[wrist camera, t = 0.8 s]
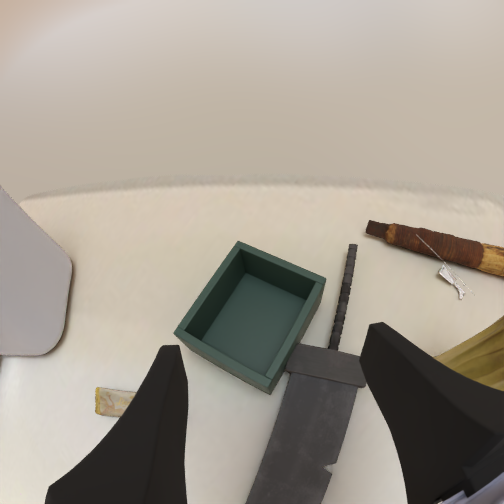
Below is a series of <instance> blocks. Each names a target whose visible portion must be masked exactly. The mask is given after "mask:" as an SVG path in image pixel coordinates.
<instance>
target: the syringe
mask: <svg viewBox="0 0 504 504" xmlns="http://www.w3.org/2000/svg"><path fill="white" fill-rule="evenodd" d="M421 240H422V239H421ZM422 241H423V240H422ZM423 242H424V241H423ZM424 243H425V242H424ZM425 244H426V243H425ZM426 245H427V244H426ZM427 246H428V245H427ZM428 247H429V246H428ZM429 248H430V247H429ZM430 249H431V248H430ZM431 250H432V249H431ZM432 251H433V250H432ZM433 252H434V251H433ZM434 253H435V252H434ZM435 254H436V253H435ZM436 255H437V254H436ZM437 256H438V255H437ZM438 257H439V256H438ZM439 258H440V257H439ZM440 259H441V258H440ZM441 260H442V259H441ZM442 261H443V260H442ZM443 262H444V261H443ZM444 263H445V262H444ZM445 264H446V263H445ZM446 265H447V264H446ZM447 266H448V265H447ZM448 267H449V266H448ZM449 268H450V267H449ZM450 269H451V268H450ZM451 270H452V269H451ZM439 274H441V275H442V276H443V277H444V278H445V279H446V280H448V281H449V282H450V283H451V284H452V285H453V282H454V281H455V280H456V279H455V278H454V276H453V275H452V274H451V273H450V272H449V271H448V270H447V268H446V267H445V266H444V265H443V266H442V268H441V270H439ZM460 280H461V279H460ZM461 281H462V280H461ZM462 282H463V281H462ZM463 283H464V282H463ZM454 284H455V286H456V287H457V289H458V291H459V298H460V299H461V300H462V299H463V295H465V292H464V291H463V290H462V289H461V288H460V287H459V286H458V284H457V283H455V282H454ZM464 284H465V283H464ZM465 285H466V284H465ZM470 291H471V290H470ZM471 292H472V291H471ZM472 293H473V292H472ZM473 294H474V293H473Z"/></svg>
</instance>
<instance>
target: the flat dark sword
mask: <svg viewBox="0 0 504 504" xmlns="http://www.w3.org/2000/svg"><path fill="white" fill-rule="evenodd" d="M357 246H358V245H356V244H349V249H348V255H347V261H346V266H345V267H346V268H345V272H344V277H343V282H342V285H343V286H342V287H341V292H340V294H341V295H340V297H339V302H338V303H339V305H338V307H337V311H336V313H337V315H335V320H334V323H335V324H334V326H333V330H332V335H331V338H330V342H329V343H330V345H329V347H328V349H326V348H320V347H315V346H310V345H305V344H299V343H297V345H296V347H295V349H294V351H293V353H292V354H291V356H290V358H289V360H288V362H287V365H286V368H285V371H287V372H290V373H291V376H290V379H289V382H288V386H287V389H286V392H285V395H284V398H283V401H282V405H281V408H280V411H279V414H278V417H277V420H276V423H275V426H274V429H273V432H272V435H271V437H270V440H269V443H268V446H267V449H266V452H265V454H264V457H263V460H262V463H261V465H260V468H259V471H258V473H257V476H256V478H255V481H254V484H253V486H252V489H251V491H250V494H249V496H248V499H247V501H246V504H321V502H322V500H323V497H324V494H325V492H326V489H327V487H328V484H329V481H330V479H331V476H332V474H331V473H330V472H328V471H327V470H326V469H324V468H323V467H322V466H327V465H331V464H335V463H336V462H337V459H338V456H339V453H340V449H341V446H342V443H343V440H344V437H345V433H346V430H347V427H348V423H349V420H350V416H351V412H352V409H353V405H354V401H355V397H356V393H357V389H358V388H364V387H365V386H366V379H365V377H364V374H363V371H362V368H361V365H360V362H359V359H360V356H356V355H352V354H348V353H344V352H340V351H338V345H339V343H340V338H341V337H340V335H341V334H342V330H343V324H344V320H345V314H346V310H347V305H348V300H349V297H348V296H349V295H350V290H351V288H350V286H351V284H352V277H353V272H354V266H355V259H356V252H357Z"/></svg>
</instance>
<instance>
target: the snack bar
mask: <svg viewBox="0 0 504 504" xmlns="http://www.w3.org/2000/svg"><path fill="white" fill-rule="evenodd" d="M95 392H96V394H95V395H96V396H95V399H96V401H95V402H96V407H95V409H96V410H95V412H96V413H97V414H100V415H106V416H118V417H121V416H122V414H123V413H124V411H125V410H126V408H127V407H128V405H129V404H130V402H131V401H132V399H133V398H134V396H135V394H136V392H126V391H119V390H111V389H105V388H99V387H97V388H96V391H95Z"/></svg>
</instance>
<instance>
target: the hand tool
mask: <svg viewBox="0 0 504 504" xmlns="http://www.w3.org/2000/svg"><path fill="white" fill-rule="evenodd" d="M366 233H367V234H370V235H373V236H376V237H380V238H383V239H385V240H386V241H387V242H388V243H391V244H394V245H399V246H401V247H404V248H406V249H410V250H413V251H416V252H419V253H424V254H427V255H429V256H433V257H436V258H439V257H440V258H441V259H442V260H447V261H452V262H456V263H459V264H462V265H465V266H468V267H472V268H477V269H480V270H481V271H484V272H488V273H492V274H496V275H500V276H504V248H503V247H499V246H494V245H489V244H481V243H480V242H477V241H472V240H467V239H462V238H459V237H454V236H453V235H450V234H444V233H439V232H435V231H434V232H433V231H431V230H428V229H425V228H413V227H409V226H405V225H399V224H395V223H393V224H385V223H379V222H375V221H371V220H369V222H368V225H367V228H366ZM421 239H422V240H423V241H424V242H425V243H426V244H427V245H428V246H429V247H430V248H431V249H432V250H433V251H434V252H435V253H436V254H437V255H438V256H439V257H438V256H437V255H436V254H435V253H434V252H433V251H432V250H431V249H430V248H429V247H428V246H427V245H426V244H425V243H424V242H423V241H422V240H421ZM440 258H439V259H440Z"/></svg>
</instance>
